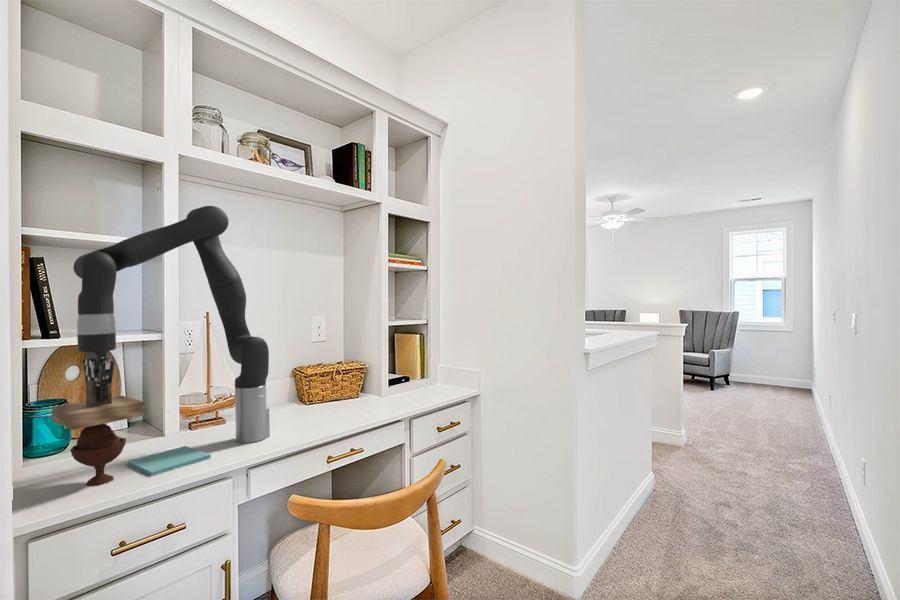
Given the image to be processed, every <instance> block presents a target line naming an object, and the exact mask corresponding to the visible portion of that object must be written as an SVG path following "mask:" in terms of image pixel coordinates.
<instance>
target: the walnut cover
mask: <svg viewBox="0 0 900 600" xmlns="http://www.w3.org/2000/svg"><path fill="white" fill-rule="evenodd" d="M104 379H105V378H103V380H104ZM95 384H96V383H95V380H90V381H86V382H85V401H81V402H75V403H69V404H62V405H57V406H52V407H51V418H52V419H51V421H52V422H53V423H55V424H58V425H60V426H62V427H65V428H67V429H69V430H71V431H74V430H79V429H84V428H85V427H89V426H94V425H99V424H108V423H112V422H113V423H114V422H118V421H124V420H128V419H134V418H139V417H143V416H146V408H145V407H146V405H145V401H143V400H139V399H136V398H133V397H129V396H124V395H118V396H112V383H111V384H109V385H108V400H107V401H103V402H97V401H96V385H95Z"/></svg>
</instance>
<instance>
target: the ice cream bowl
mask: <svg viewBox="0 0 900 600" xmlns="http://www.w3.org/2000/svg"><path fill="white" fill-rule="evenodd" d="M126 442H127V438H125V437H120V436H118V435H116V432H115V431H114V430H113V429H112V427H111V426H110V425H108V424H107V423H104V424H99V425H94V426H89V427H85V428H82V429H81V430H80V434H79V436H78V438H77V440H76V444H75V445H73V446H72V448H70V453H71V457H73V459H74V460H75V461H76V462H78V463H80V464H81V465H84V466H87V467H93V468H94V469H95V475H94V476H93V477H91V478H90V479H88V480H87V482H86V486H87V487H96V486H101V485H104V483H105V484H108V483H110V482H112V481H114V479H115V478H114V476H113V475H111V474H107V473H105V467H106V465H108V464H109V463H111V462H113V461H114V460H115V459H117V458H118V457H119V456H120V454H122V452H123V450H124V447H125V446H126Z"/></svg>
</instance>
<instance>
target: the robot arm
mask: <svg viewBox="0 0 900 600" xmlns="http://www.w3.org/2000/svg"><path fill="white" fill-rule="evenodd" d="M228 228H229V217H228V215H227V213H226V212H225V211H224V210H223V209H221V208H219V207H218V206H214V205H205V206H201V207H197V208H194V209H192V210H190V211H189V212H188V213H187V215H186V218H184V219H182V220H180V221H177V222H175V223H171V224H170V225H166V226H162V227H159V228H155V229H152V230H149V231H145V232H142V233H139V234H136V235H134V236H132V237H128V238H126V239H123V240H121V241H119V242H117V243H115V244H112V245H110V246H107V247H104V248H100V249H97V250H94V251H91V252H88V253H85V254H82V255H80V256H78V257H77V258H76V260H74V263H73V272H74V274H75V275H76V276H77V277H78V278H79V279H81V291H80V292H79V294H78V296H77V321H76V331H77V332H76V333H77V335H76V336H77V337H76V339H77V351H78V352H79V353H82V354H83V353H87V355H86V359H85V358H84V359H82V362H81V363H82V367H83V369H82V370H83V374H84V382H85V383H86V381H90V380H95V383H96V384H95V385H96V401H97V402H103V401H107V400H108V385H109V384H111V385H112V382H113V375H114V366H115V362H114V360H111V359H110V357H109V354H108V353H109V351H114V350H116V348H117V339H116V338H117V336H116V335H117V334H116V330H117V329H116V320H115V314H114V313H115V310H114V308H115V306H114V305H115V303H114V292H115V289H116V288H115V287H116V281H117V272H119V271H122V270H125V269H126V268H132V267H134V266H139V265H140V264H142V263H145V262H148V261H150V260H153V259H155V258H156V257H160V256H161V255H164V254H166V253H167V252H168V253H169V252H170V251H173V250H175V249H177V248H179V247H181V246H184V245H186V244H189V243H193V245H194V247H195V249H196V250H197V254H198V255H199V258H200V261H201V264H202V267H203V271H204V274H205V276H206V278H207V279H206V280H207V282H208V286H209V290H210V292H211V295H212V297H213V300H214V303H215V306H216V309H217V311H218V314H219V318H220V320H221V323H222V326H223V329H224V333H225V334H224V335H225V338H226V344H227V347H228V352H229V355H230V357H231V359H232V360H233V361H234V362H235V363H237V364H239V365H240V374H239V375H238V376H236V378H235V379H234V402H235V406H234V408H235V412H234V413H235V442H237V443H241V444H249V443H256V442H260V441H263V440H264V439H266V438H268V437H271V435H270V434H271V430H270V407H269V406H267V378H268V375H269V367H270V366H269V362H270V361H269V360H270V355H269V354H270V353H269V351H270V350H269V347H268V346H269V345H268V343H267V342H266V340H265V339H263V338H262V337H259V336H252V335H251V333H250V331H249V330H250V329H249V328H248V324H247V321H246V320H247V319H246V308H247V293H246V291H245V287H244V284H243V281H242V278H241V275H240V274H239V272H238V270H237V269H236V267H235V266H234V265H233V263H232V262H231V261H230V259H229V258H228V256H227V255H226V253H225V252H224V250H223V246H222V244H221V240H220V238H219V237H220V235H222V234H224V233H225V232H226V230H227V229H228ZM103 379H104V380H103Z"/></svg>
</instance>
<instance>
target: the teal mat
mask: <svg viewBox="0 0 900 600" xmlns="http://www.w3.org/2000/svg"><path fill="white" fill-rule="evenodd" d="M208 458H210V459H211V454H210V453H207V452H204V451H201V450H198V449H197V448H193V447H190V446H187V445H183V446H180V447H176V448H172V449H168V450H165V451H161V452H157V453H153V454H150V455H145V456H143V457H142V456H141V457H138V458H135V459H132V460H127V466H129V467H131V468H134V469H135V470H138V471H140V472H142V471H143V472H142V473H144V472H145V474H146V475H149V476H150V475H151V477H153V475H154V476H156V474H157V475H159V473H160V474H163V473H166V471H167V472H170V471H173V470H176V469H175V468H177V469H180V468H183V467H186V466H189V465H188V464H190V465H193V464H196V463H199V462H198V461H200V462H202V461H201V460H203V461H206V460H209V459H208ZM205 459H206V460H205ZM195 462H196V463H195ZM192 463H193V464H192ZM185 465H186V466H185ZM182 466H183V467H182ZM179 467H180V468H179ZM172 469H173V470H172ZM169 470H170V471H169ZM162 472H163V473H162Z"/></svg>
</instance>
